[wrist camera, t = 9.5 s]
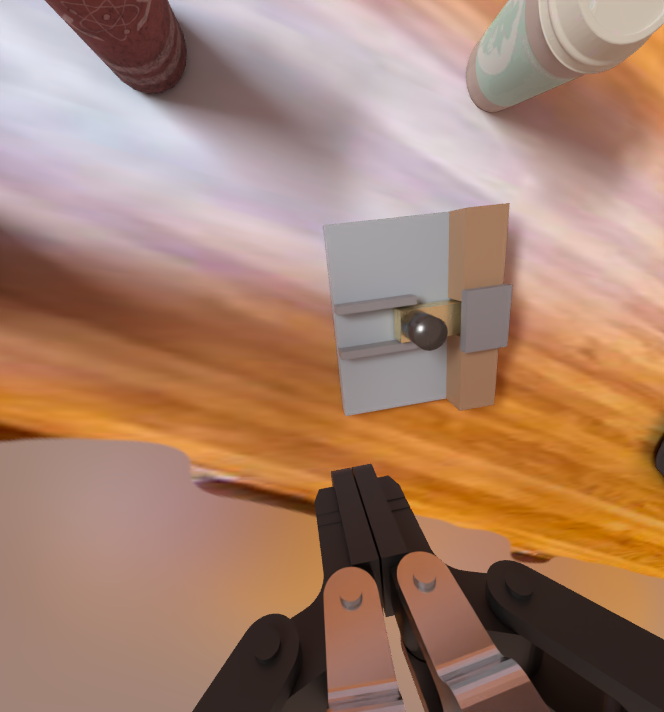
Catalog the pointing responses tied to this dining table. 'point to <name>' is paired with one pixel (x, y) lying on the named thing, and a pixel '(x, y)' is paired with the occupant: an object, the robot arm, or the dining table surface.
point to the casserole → (660, 459)
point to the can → (130, 39)
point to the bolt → (427, 323)
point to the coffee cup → (554, 45)
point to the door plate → (417, 286)
